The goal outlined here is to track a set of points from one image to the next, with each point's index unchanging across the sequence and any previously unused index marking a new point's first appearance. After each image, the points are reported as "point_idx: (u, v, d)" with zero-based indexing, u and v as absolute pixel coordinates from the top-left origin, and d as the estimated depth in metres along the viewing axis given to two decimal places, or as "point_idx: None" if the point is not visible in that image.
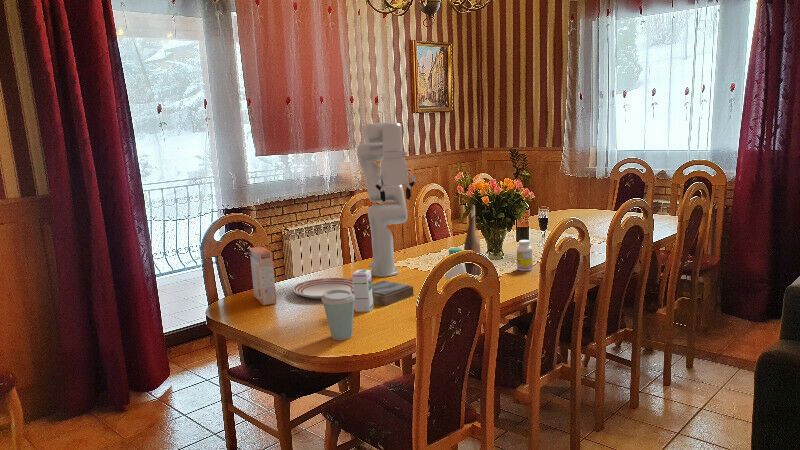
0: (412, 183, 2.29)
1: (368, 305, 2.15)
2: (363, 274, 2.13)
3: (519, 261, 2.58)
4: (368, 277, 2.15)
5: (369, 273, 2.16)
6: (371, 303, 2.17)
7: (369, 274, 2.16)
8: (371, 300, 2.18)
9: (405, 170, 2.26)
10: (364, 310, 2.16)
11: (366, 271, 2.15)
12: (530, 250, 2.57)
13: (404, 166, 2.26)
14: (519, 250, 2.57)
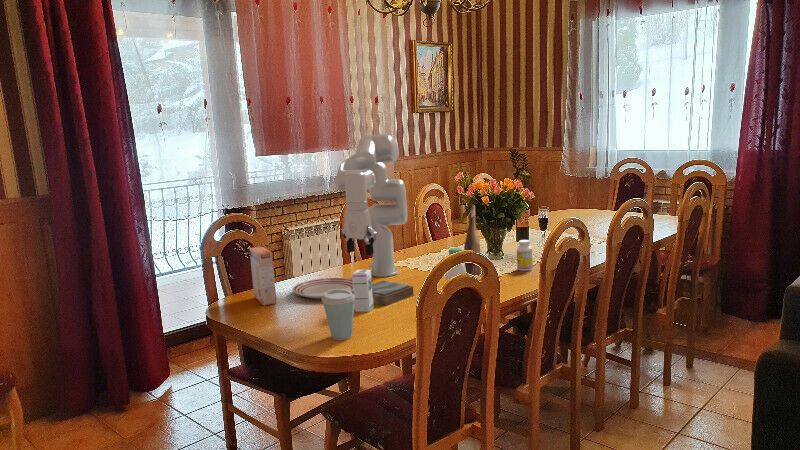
0: None
1: (368, 305, 2.15)
2: (363, 274, 2.13)
3: (519, 261, 2.58)
4: (368, 277, 2.15)
5: (369, 273, 2.16)
6: (371, 303, 2.17)
7: (369, 274, 2.16)
8: (371, 300, 2.18)
9: None
10: (364, 310, 2.16)
11: (366, 271, 2.15)
12: (530, 250, 2.57)
13: None
14: (519, 250, 2.57)
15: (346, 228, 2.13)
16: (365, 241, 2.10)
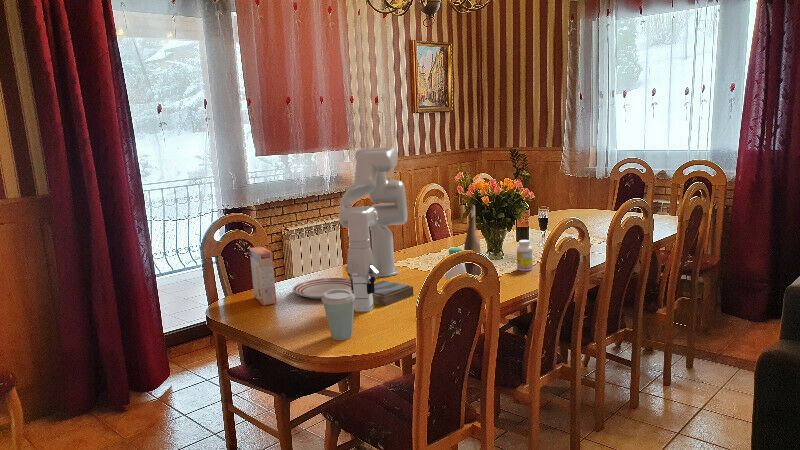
0: None
1: (368, 305, 2.15)
2: None
3: (519, 261, 2.58)
4: None
5: None
6: (371, 303, 2.17)
7: None
8: (371, 300, 2.17)
9: None
10: (364, 310, 2.16)
11: None
12: (530, 250, 2.57)
13: None
14: (519, 250, 2.57)
15: (348, 265, 2.16)
16: (366, 279, 2.13)
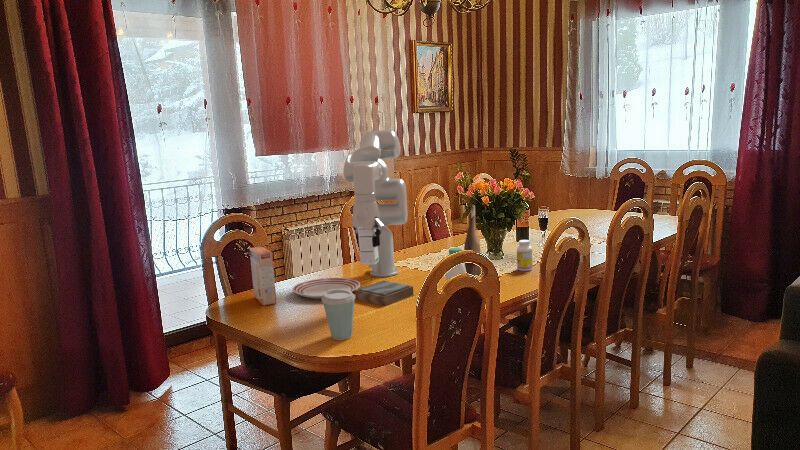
0: None
1: (373, 258, 2.18)
2: None
3: (519, 261, 2.58)
4: None
5: None
6: (376, 256, 2.20)
7: None
8: (377, 254, 2.20)
9: None
10: (369, 263, 2.18)
11: None
12: (530, 250, 2.57)
13: None
14: (519, 250, 2.57)
15: (354, 219, 2.18)
16: (372, 232, 2.15)
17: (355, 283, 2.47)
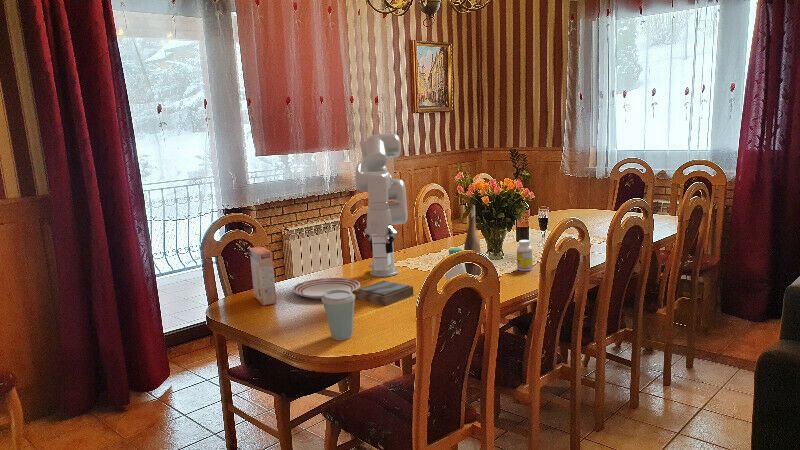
0: None
1: (386, 264, 2.26)
2: None
3: (519, 261, 2.58)
4: None
5: (387, 234, 2.27)
6: (389, 262, 2.28)
7: None
8: (389, 260, 2.29)
9: None
10: (383, 269, 2.27)
11: None
12: (530, 250, 2.57)
13: None
14: (519, 250, 2.57)
15: (368, 226, 2.27)
16: (385, 239, 2.24)
17: (355, 283, 2.47)
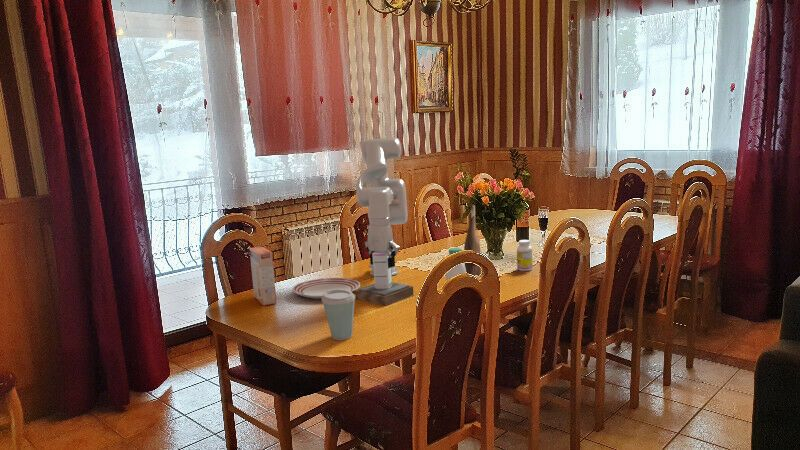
0: None
1: (387, 283, 2.28)
2: (383, 253, 2.26)
3: (519, 261, 2.58)
4: (387, 256, 2.28)
5: None
6: (390, 281, 2.30)
7: None
8: (390, 278, 2.31)
9: None
10: (383, 287, 2.29)
11: None
12: (530, 250, 2.57)
13: None
14: (519, 250, 2.57)
15: (369, 242, 2.29)
16: (387, 254, 2.25)
17: (355, 283, 2.47)
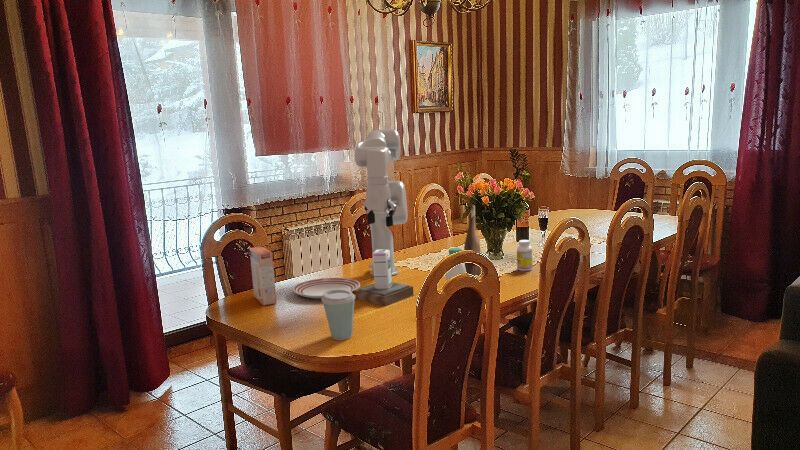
0: None
1: (387, 283, 2.28)
2: (383, 253, 2.26)
3: (519, 261, 2.58)
4: (387, 256, 2.28)
5: (388, 252, 2.29)
6: (390, 281, 2.30)
7: (388, 253, 2.29)
8: (390, 278, 2.31)
9: None
10: (383, 287, 2.29)
11: (385, 251, 2.29)
12: (530, 250, 2.57)
13: None
14: (519, 250, 2.57)
15: (367, 201, 2.30)
16: (385, 213, 2.27)
17: (355, 283, 2.47)
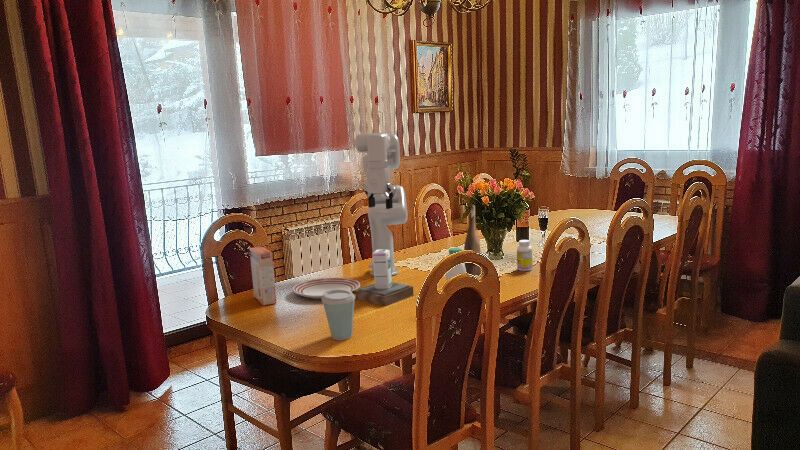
0: None
1: (387, 283, 2.28)
2: (383, 253, 2.26)
3: (519, 261, 2.58)
4: (387, 256, 2.28)
5: (388, 252, 2.29)
6: (390, 281, 2.30)
7: (388, 253, 2.29)
8: (390, 278, 2.31)
9: None
10: (383, 287, 2.29)
11: (385, 251, 2.29)
12: (530, 250, 2.57)
13: None
14: (519, 250, 2.57)
15: (367, 185, 2.38)
16: (385, 196, 2.34)
17: (355, 283, 2.47)
